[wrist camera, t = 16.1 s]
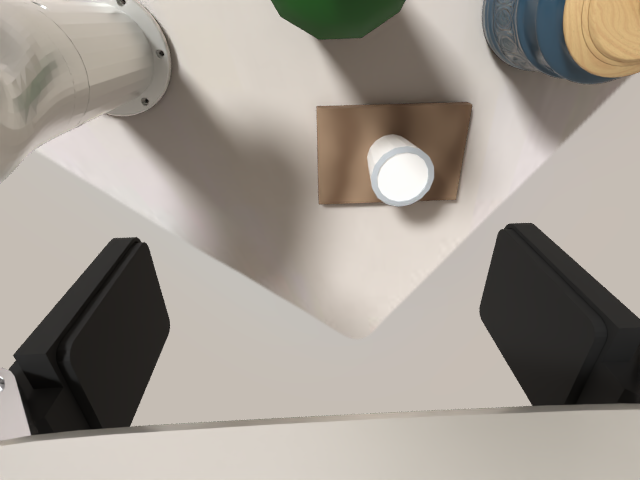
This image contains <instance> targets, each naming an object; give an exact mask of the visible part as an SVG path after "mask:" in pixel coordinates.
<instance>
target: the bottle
mask: <svg viewBox="0 0 640 480" xmlns="http://www.w3.org/2000/svg"><path fill="white" fill-rule="evenodd" d="M271 1H272V3H273V5H274V6H275V8H276V10H277V11H278V13H279V15H280V17H282V18H284V19H285V20H287V21H289V22H290V23H292V24H294V25H295V26H297V27H299V28H301V29H302V30H304V31H306V32H307V33H309V34H311V35H312V36H314V37H316V38H317V39H319V40H323V39H347V38H362V37H363V36H365V35H366V34H368V33H369V32H371V31H372V30H374V29H375V28H377V27H378V26H379V25H381V24H382V23H384V22H385V21H387V20H388V19H390V18H391V17H393V16H394V15H395V14H397V13H398V12H400V10H401V8H402V6H403V4H404V2H405V1H406V0H271Z"/></svg>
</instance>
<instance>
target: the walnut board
mask: <svg viewBox="0 0 640 480" xmlns="http://www.w3.org/2000/svg"><path fill="white" fill-rule="evenodd" d="M471 110H472V104H470V103H468V102H452V103H416V104H380V105H344V106H317V151H318V196H319V204H344V203H373V202H383V201H381V200H380V199H379V198H377V196H376V194H375V192H374V191H373V189H372V185H371V179H370V174H369V168H368V160H367V156H368V152H369V149H370V147H371V146H372V145H373V143H374V142H375V141H376V140H378V139H379V138H381V137H383V136H386V135H392V134H394V135H398V136H402V137H403V138H405V139H406V140H408V141H409V142H411V143H412V144H414V145H415V146H416V147H418V148H419V149H421V150H422V151H423V152H424V153H426V154H427V155H428V156H429V157H430V159H431V161H432V163H433V166H434V180H433V182H432V184H431V187H430V189H429V191H428V192H427V193H426V194H425V195H424V196H423V197H422V198H421V199H420V200H418V201H430V200H456V195H457V190H458V184H459V178H460V173H461V167H462V161H463V155H464V150H465V144H466V138H467V133H468V127H469V121H470V116H471Z"/></svg>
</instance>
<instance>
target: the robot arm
mask: <svg viewBox="0 0 640 480" xmlns="http://www.w3.org/2000/svg"><path fill="white" fill-rule="evenodd" d="M125 1H126V4H125V5H124V4H123V2H122V0H0V183H1V182H3V181H4V180H5V179H6V178H7V177H8V176H9V175H10V174H11V173H12V172H13V171H14V170H15V169H16V168H17V167H18V165H19V164H20V163H21V162H22V161H23V160H24V159H25V158H26V157H27V156H28V155H29V154H30V153H31V152H32V151H34V150H35V149H37V148H38V147H40V146H41V145H43V144H45V143H47V142H48V141H50V140H52V139H54V138H56V137H58V136H60V135H62V134H64V133H66V132H68V131H70V130H72V129H75V128H77V127H79V126H81V125H83V124H85V123H87V122H89V121H91V120H93V119H95V118H97V117H99V116H101V115H103V114H109V115H113V116H130V115H136V114H139V113H142V112H144V111H146V110H148V109H149V108H151V107H152V106H154V105H155V104H156V103H157V102H158V101H159V100H160V99H161V97H162V96H163V95H164V93H165V91H166V89H167V87H168V85H169V81H170V76H171V57H170V50H169V47H168V44H167V41H166V38H165V36H164V34H163V32H162V30H161V28H160V26H159V24H158V23H157V22H156V20H155V19H154V17H153V16H152V15H151V13H150V12H149V11H148V10H147V9H146V8H145V7H144V6H143V5H142V4H141V3H139V2H138V1H137V0H125ZM161 51H163V52H164V56H162V55H161V53H160V52H161ZM146 98H147V99H148V100H149V102H146ZM480 316H481V320H482V321H483V323H484V325H485V326H486V328H487V330H488V332H489V333H490V335H491V337H492V338H493V340H494V341H495V343H496V345H497V347H498V348H499V350H500V352H501V353H502V355H503V357H504V358H505V360H506V362H507V364H508V365H509V367H510V368H511V370H512V372H513V374H514V375H515V377H516V378H517V380H518V382H519V384H520V385H521V387H522V389H523V390H524V392H525V394H526V395H527V397H528V399H529V401H530V402H531V404H532V406H523V407H501V408H479V409H455V410H432V411H411V412H391V413H370V414H350V415H332V416H331V415H330V416H311V417H291V418H272V419H254V420H235V421H217V422H200V423H181V424H164V425H148V426H135V427H130V425H131V423H132V420H133V417H134V416H135V413H136V411H137V408H138V406H139V404H140V401H141V399H142V396H143V394H144V391H145V389H146V387H147V384H148V382H149V380H150V377H151V375H152V372H153V370H154V368H155V365H156V363H157V360H158V358H159V356H160V353H161V351H162V348H163V346H164V344H165V341H166V339H167V337H168V334H169V329H170V321H169V317H168V313H167V310H166V306H165V303H164V299H163V296H162V292H161V289H160V286H159V282H158V278H157V275H156V271H155V268H154V264H153V261H152V257H151V254H150V250H149V247H148V245H147V244H146V243H145V242H144V243H141V241H140V239H138V238H137V237H135V238H113V239H112V240H111V241H110V242H109V243H108V244H107V246H106V247H105V248H104V249H103V250H102V252H101V253H100V254H99V255H98V256H97V257H96V259H95V260H94V261H93V262H92V263H91V264H90V266H89V267H88V268H87V269H86V270H85V271H84V273H83V274H82V275H81V276H80V277H79V278H78V280H77V281H76V282H75V283H74V284H73V285H72V287H71V288H70V289H69V290H68V291H67V293H66V294H65V295H64V296H63V297H62V298H61V300H60V301H59V302H58V303H57V304H56V305H55V307H54V308H53V309H52V310H51V311H50V313H49V314H48V315H47V316H46V317H45V318H44V320H43V321H42V322H41V323H40V324H39V325H38V327H37V328H36V329H35V330H34V331H33V333H32V334H31V335H30V336H29V337H28V338H27V340H26V341H25V342H24V343H23V344H22V345H21V347H20V348H19V349H18V350H17V351H16V353H15V354H14V355H13V356H14V358H15V359H16V361H15V362H14V364H13V365H12V366H11V367H10V368H9V370H7V369H4V368H0V480H640V319H639V318H638V317H637V316H636V315H635V314H634V313H632V312H631V311H630V310H629V309H628V308H627V307H626V306H625V305H624V304H622V303H621V302H620V301H619V300H618V299H617V298H616V297H615V296H613V295H612V294H611V293H610V292H609V291H608V290H607V289H606V288H605V287H603V286H602V285H601V284H600V283H599V282H598V281H596V280H595V279H594V278H593V277H592V276H591V275H590V274H589V273H588V272H587V271H585V270H584V269H583V268H582V267H581V266H580V265H579V264H578V263H577V262H575V261H574V260H573V259H572V258H571V257H570V256H569V255H568V254H566V253H565V252H564V251H563V250H562V249H561V248H560V247H559V246H558V245H556V244H555V243H554V242H553V241H552V240H551V239H550V238H548V237H547V236H546V235H545V234H544V233H543V232H542V231H541V230H540V229H538V228H537V227H536V226H535V225H534V224H532V223H515V224H508V225H507V226H506V227H505V228H504V229H502V230H500V231H499V233H498V235H497V239H496V244H495V248H494V251H493V255H492V260H491V264H490V268H489V272H488V276H487V280H486V284H485V288H484V292H483V296H482V300H481V304H480Z"/></svg>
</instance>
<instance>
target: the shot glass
mask: <svg viewBox="0 0 640 480" xmlns="http://www.w3.org/2000/svg"><path fill="white" fill-rule="evenodd" d="M367 160H368V168H369V174H370V179H371V185H372V189H373V191H374V192H375V194H376V196H377V198H379V199H380V200H381V201H383V202H384V203H386V204H388V205H393V206H405V205H410V204H412V203H414V202H416V201H418V200H420V199H421V198H422V197H423V196H424V195H425V194H426V193H427V192H428V191H429V189H430V187H431V184H432V182H433V180H434V166H433V163H432V161H431V159H430V157H429V156H428V155H427V154H426V153H424V152H423V151H422V150H421V149H419V148H418V147H416V146H415V145H414V144H412V143H411V142H409V141H408V140H406V139H405V138H403V137H402V136H398V135H394V134H392V135H386V136H383V137H381V138H379V139H378V140H376V141H375V142H374V143H373V145H372V146H371V147H370V149H369V152H368V156H367Z"/></svg>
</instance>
